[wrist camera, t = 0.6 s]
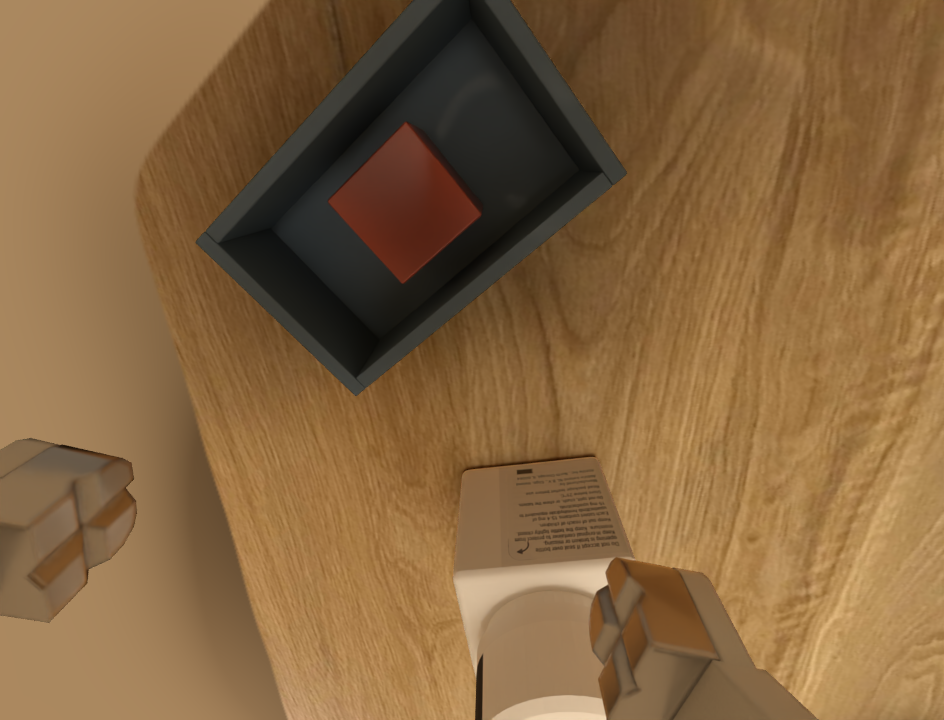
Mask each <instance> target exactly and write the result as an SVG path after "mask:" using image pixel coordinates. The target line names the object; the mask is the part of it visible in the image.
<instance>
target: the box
mask: <svg viewBox="0 0 944 720" xmlns="http://www.w3.org/2000/svg"><path fill="white" fill-rule="evenodd" d="M406 121H407V122H409V123H410V124H412V125H414V126H416V127H418V128H420V129H422V130H424V132H425V133H426V134H427V135H428V137H429V138H430V139H431V140H432V142H433V143H434V144H435V145H436V147H437V148H438V149H439V150H440V152H441V153H442V154H443V155H444V157H445V158H446V159H447V160H448V162H449V163H450V164H451V165H452V167H453V168H454V169H455V170H456V172H457V173H458V174H459V175H460V177H461V178H462V179H463V180H464V182H465V183H466V184H467V185H468V187H469V188H470V189H471V190H472V192H473V193H474V194H475V195H476V196H477V198H478V199H479V200H480V201H481V203H482V204H483V210H482V215H481V217H479V218H478V219H477V220H476V221H475V222H474V223H473V224H472V225H470V226H469V227H468V228H467V229H466V230H465V231H464V232H462V233H461V234H460V235H459V236H458V237H457V238H456V239H454V240H453V241H452V242H451V243H450V244H449V245H448V246H447V247H445V248H444V249H443V250H442V251H441V252H440V253H439V254H437V255H436V256H435V257H434V258H433V259H432V260H431V261H429V262H428V263H427V264H426V265H425V266H424V267H423V268H422V269H420V270H419V271H418V272H417V273H416V274H415V275H414V276H412V277H411V278H410V279H409V280H408V281H407V282H406V283H404V284H402V283H401V282H400V281H399V280H398V279H397V278H396V277H395V275H394V274H393V273H392V272H391V271H390V270H389V269H388V268H387V267H386V266H385V265H384V263H383V262H382V261H381V260H380V259H379V258H378V257H377V256H376V255H375V254H374V253H373V251H372V250H371V249H370V248H369V247H368V246H367V245H366V244H365V243H364V242H363V240H362V239H361V238H360V237H359V236H358V235H357V234H356V233H355V232H354V231H353V230H352V228H351V227H350V226H349V225H348V224H347V223H346V222H345V221H344V220H343V219H342V218H341V216H340V215H339V214H338V213H337V212H336V211H335V210H334V209H333V208H332V207H331V205H330V204H329V203H328V199H329V198H330V197H331V196H332V195H333V194H334V193H335V192H336V191H337V190H338V189H339V188H340V187H341V186H342V185H343V184H344V183H345V182H346V181H347V180H348V179H349V178H350V177H351V176H352V175H353V174H354V173H355V172H356V171H357V170H358V169H359V168H360V167H361V166H362V165H363V164H364V163H365V162H366V161H367V160H368V159H369V158H370V157H371V156H372V155H373V154H374V153H375V152H376V151H377V150H378V149H379V148H380V147H381V146H382V144H383V143H384V142H385V141H386V140H387V139H388V138H389V137H390V136H391V135H392V134H393V133H394V132H395V131H396V130H397V129H398V128H399V127H400V126H401V125H402V124H403V123H404V122H406ZM626 174H627V172H626V170H625V169H624V167H623V166H622V164H621V163H620V161H619V160H618V158H617V157H616V155H615V154H614V152H613V151H612V149H611V148H610V147H609V145H608V144H607V142H606V141H605V139H604V138H603V136H602V135H601V133H600V132H599V130H598V129H597V127H596V126H595V124H594V123H593V121H592V120H591V118H590V117H589V116H588V114H587V113H586V111H585V110H584V108H583V107H582V105H581V104H580V102H579V101H578V99H577V98H576V96H575V95H574V93H573V92H572V90H571V89H570V88H569V86H568V85H567V83H566V82H565V80H564V79H563V77H562V76H561V74H560V73H559V71H558V70H557V68H556V67H555V65H554V64H553V62H552V61H551V59H550V58H549V57H548V55H547V54H546V52H545V51H544V49H543V48H542V46H541V45H540V43H539V42H538V40H537V39H536V37H535V36H534V34H533V33H532V31H531V30H530V28H529V27H528V26H527V24H526V23H525V21H524V20H523V18H522V17H521V15H520V14H519V12H518V11H517V9H516V8H515V6H514V5H513V3H512V2H511V0H413V1H412V2H411V3H410V4H409V5H408V7H407V8H406V9H405V10H404V11H403V12H402V13H401V14H400V15H399V17H398V18H397V19H396V20H395V21H394V22H393V23H392V24H391V25H390V27H389V28H388V29H387V30H386V31H385V32H384V33H383V34H382V35H381V37H380V38H379V39H378V40H377V41H376V42H375V43H374V44H373V45H372V47H371V48H370V49H369V50H368V51H367V52H366V53H365V54H364V55H363V57H362V58H361V59H360V60H359V61H358V62H357V63H356V64H355V65H354V67H353V68H352V69H351V70H350V71H349V72H348V73H347V74H346V75H345V77H344V78H343V79H342V80H341V81H340V82H339V83H338V84H337V85H336V87H335V88H334V89H333V90H332V91H331V92H330V93H329V94H328V95H327V97H326V98H325V99H324V100H323V101H322V102H321V103H320V104H319V105H318V107H317V108H316V109H315V110H314V111H313V112H312V113H311V114H310V115H309V116H308V118H307V119H306V120H305V121H304V122H303V123H302V124H301V125H300V126H299V128H298V129H297V130H296V131H295V132H294V133H293V134H292V135H291V136H290V138H289V139H288V140H287V141H286V142H285V143H284V144H283V145H282V146H281V148H280V149H279V150H278V151H277V152H276V153H275V154H274V155H273V156H272V158H271V159H270V160H269V161H268V162H267V163H266V164H265V165H264V166H263V168H262V169H261V170H260V171H259V172H258V173H257V174H256V175H255V176H254V178H253V179H252V180H251V181H250V182H249V183H248V184H247V185H246V186H245V188H244V189H243V190H242V191H241V192H240V193H239V194H238V195H237V196H236V198H235V199H234V200H233V201H232V202H231V203H230V204H229V205H228V206H227V208H226V209H225V210H224V211H223V212H222V213H221V214H220V215H219V216H218V218H217V219H216V220H215V221H214V222H213V223H212V224H211V225H210V226H209V228H208V229H207V230H206V232H204V233H203V234H202V235H201V236H200V237H199V238H198V239H197V241H196V244H198V245H199V246H200V247H201V248H202V249H203V250H204V251H205V252H206V253H207V254H208V255H209V256H210V257H211V258H212V259H213V260H214V261H215V262H216V263H217V264H218V265H219V266H220V267H222V268H223V269H224V270H225V271H226V272H227V273H228V274H229V275H230V276H231V277H232V278H233V279H234V280H235V281H236V282H237V283H238V284H239V285H240V286H241V287H242V288H243V289H244V290H246V291H247V292H248V293H249V294H250V295H251V296H252V297H253V298H254V299H255V300H256V301H257V302H258V303H259V304H260V305H261V306H262V307H263V308H264V309H265V310H266V311H267V312H268V313H269V314H271V315H272V316H273V317H274V318H275V319H276V320H277V321H278V322H279V323H280V324H281V325H282V326H283V327H284V328H285V329H286V330H287V331H288V332H289V333H290V334H291V335H292V336H293V337H295V338H296V339H297V340H298V341H299V342H300V343H301V344H302V345H303V346H304V347H305V348H306V349H307V350H308V351H309V352H310V353H311V354H312V355H313V356H314V357H315V358H316V359H317V360H319V361H320V362H321V363H322V364H323V365H324V366H325V367H326V368H327V369H328V370H329V371H330V372H331V373H332V374H333V375H334V376H335V377H336V378H337V379H338V380H339V381H340V382H341V383H343V384H344V385H345V386H346V387H347V388H348V389H349V390H350V391H351V392H352V393H353V394H354V395H355V396H357V395H358V394H359V393H361V392H362V391H363V390H364V389H365V388H366V387H368V386H369V385H370V384H372V383H373V382H374V381H375V380H376V379H378V378H379V377H380V376H381V375H383V374H384V373H385V372H386V371H387V370H389V369H390V368H391V367H392V366H394V365H395V364H396V363H397V362H398V361H400V360H401V359H402V358H403V357H405V356H406V355H407V354H408V353H409V352H411V351H412V350H413V349H414V348H415V347H417V346H418V345H419V344H420V343H422V342H423V341H424V340H425V339H426V338H428V337H429V336H430V335H431V334H433V333H434V332H435V331H436V330H437V329H439V328H440V327H441V326H442V325H444V324H445V323H446V322H447V321H448V320H450V319H451V318H452V317H453V316H455V315H456V314H457V313H458V312H459V311H461V310H462V309H463V308H464V307H466V306H467V305H468V304H469V303H470V302H472V301H473V300H474V299H475V298H477V297H478V296H479V295H480V294H481V293H483V292H484V291H485V290H486V289H488V288H489V287H490V286H491V285H492V284H494V283H495V282H496V281H497V280H499V279H500V278H501V277H502V276H503V275H505V274H506V273H507V272H508V271H510V270H511V269H512V268H513V267H514V266H516V265H517V264H518V263H519V262H521V261H522V260H523V259H524V258H525V257H527V256H528V255H529V254H530V253H532V252H533V251H534V250H535V249H536V248H538V247H539V246H540V245H541V244H543V243H544V242H545V241H546V240H547V239H549V238H550V237H551V236H552V235H554V234H555V233H556V232H557V231H558V230H560V229H561V228H562V227H563V226H565V225H566V224H567V223H568V222H569V221H571V220H572V219H573V218H574V217H576V216H577V215H578V214H579V213H580V212H582V211H583V210H584V209H585V208H586V207H588V206H589V205H590V204H591V203H593V202H594V201H595V200H596V199H597V198H599V197H600V196H601V195H602V194H604V193H605V192H606V191H607V190H608V189H610V188H611V187H612V185H614V184H616V183H617V182H618V181H619V180H621V179H622V178H623V177H624V176H625V175H626Z"/></svg>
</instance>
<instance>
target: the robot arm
mask: <svg viewBox="0 0 944 720" xmlns="http://www.w3.org/2000/svg"><path fill="white" fill-rule="evenodd" d="M133 480H134V476H133V469H132V463H131V462H129V461H127V460H125V459H123V458H119V457H115V456H110V455H106V454H102V453H97V452H93V451H88V450H84V449H79V448H75V447H71V446H66V445H58V444H54V443H49V442H45V441H41V440H37V439H32V438H29V439H23V440H17V441H15V442H13V443H11V444H10V445H8V446H6V447H4V448H3V449H1V450H0V615H1V616H8V617H15V618H21V619H28V620H34V621H41V622H48V623H49V622H50V621H51V620H52V619H53V618H54V617H55V616H56V615H57V614H58V613H59V612H60V611H61V610H62V609H63V608H64V607H65V606H66V605H67V604H68V603H69V602H70V601H71V600H72V599H73V598H74V597H75V596H76V594H77V593H78V592H79V591H80V590H81V589H82V588H83V587H84V586H85V585H86V584H87V580H88V571H89V569H91V568H92V567H95V566H97V565H99V564H102V563H104V562H106V561H108V560H110V559H111V558H112V557H113V556H114V555H115V554H116V553H117V552H118V550H119V549H120V548H121V547H122V546H123V545H124V544H125V542H126V540H127V538H128V536H129V534H130V533H131V531H132V529H133V527H134V524H135V519H136V514H137V508H136V500H135V499H134V498H133V497H132V495H131V494H130V493H129V492H128V491H127V489H126V487H127V486H128V485H129V484H130V483H131V482H132V481H133ZM605 574H606V578H607V582H608V585H606V586H605V587H603V588H601V589H599V590H598V591H597V592H596V594H595V596H594V599H593V601H592V604H591V608H590V616H589V636H590V642H591V647H592V651H593V653H594V654H595V655H596V656H597V658H598V659H599V660H600V662H601V663H602V664H603V665H604V668H603V670H602V672H601V674H600V676H599V678H598V681H599V686H600V691H601V696H602V700H603V705H604V710H605V715H606V719H607V720H818V719H817V718H816V717H815V716H814V715H813V714H812V713H811V712H810V711H809V710H808V709H806V708H805V707H804V706H803V705H802V704H801V703H800V702H799V701H798V700H797V699H796V698H795V697H794V696H793V695H792V694H790V693H789V692H788V691H787V690H786V689H785V688H784V687H783V686H782V685H781V684H780V683H779V682H778V681H777V680H776V679H775V678H773V677H772V676H771V675H770V674H769V673H768V672H767V671H766V670H761V669H757V668H756V667H755V665H754V663H753V661H752V659H751V657H750V656H749V654H748V652H747V650H746V648H745V646H744V644H743V642H742V640H741V638H740V636H739V635H738V633H737V631H736V629H735V627H734V625H733V623H732V621H731V619H730V617H729V616H728V614H727V612H726V610H725V608H724V606H723V604H722V602H721V600H720V598H719V597H718V595H717V593H716V591H715V589H714V587H713V585H712V583H711V581H710V580H709V579H708V578H707V577H706V576H705V575H704V574H703V573H700V572H695V571H689V570H684V569H678V568H670V567H666V566H661V565H656V564H650V563H645V562H640V561H635V560H629V559H624V558H619V557H615V558H614V559H613V560H612V561H611V562H610V564H609V566H608V568H607V570H606V572H605Z"/></svg>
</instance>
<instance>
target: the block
mask: <svg viewBox="0 0 944 720" xmlns="http://www.w3.org/2000/svg"><path fill="white" fill-rule="evenodd" d="M328 203H329V204H330V205H331V207H332V208H333V209H334V210H335V211H336V212H337V213H338V214H339V215H340V216H341V218H342V219H343V220H344V221H345V222H346V223H347V224H348V225H349V226H350V227H351V228H352V230H353V231H354V232H355V233H356V234H357V235H358V236H359V237H360V238H361V239H362V240H363V242H364V243H365V244H366V245H367V246H368V247H369V248H370V249H371V250H372V251H373V253H374V254H375V255H376V256H377V257H378V258H379V259H380V260H381V261H382V262H383V263H384V265H385V266H386V267H387V268H388V269H389V270H390V271H391V272H392V273H393V274H394V275H395V277H396V278H397V279H398V280H399V281H400V282H401V283H402V284H404V283H406V282H407V281H408V280H409V279H410V278H411V277H412V276H414V275H415V274H416V273H417V272H418V271H419V270H420V269H422V268H423V267H424V266H425V265H426V264H427V263H428V262H429V261H431V260H432V259H433V258H434V257H435V256H436V255H437V254H439V253H440V252H441V251H442V250H443V249H444V248H445V247H447V246H448V245H449V244H450V243H451V242H452V241H453V240H454V239H456V238H457V237H458V236H459V235H460V234H461V233H462V232H464V231H465V230H466V229H467V228H468V227H469V226H470V225H472V224H473V223H474V222H475V221H476V220H477V219H478V218H479V217H481V215H482V210H483V204H482V203H481V201H480V200H479V199H478V198H477V196H476V195H475V194H474V193H473V192H472V190H471V189H470V188H469V187H468V185H467V184H466V183H465V182H464V180H463V179H462V178H461V177H460V175H459V174H458V173H457V172H456V170H455V169H454V168H453V167H452V165H451V164H450V163H449V162H448V160H447V159H446V158H445V157H444V155H443V154H442V153H441V152H440V150H439V149H438V148H437V147H436V145H435V144H434V143H433V142H432V140H431V139H430V138H429V137H428V135H427V134H426V133H425V132H424V130H422V129H420V128H418V127H416V126H414V125H412V124H410V123H409V122H407V121H406V122H404V123H403V124H402V125H401V126H400V127H399V128H398V129H397V130H396V131H395V132H394V133H393V134H392V135H391V136H390V137H389V138H388V139H387V140H386V141H385V142H384V143H383V144H382V146H381V147H380V148H379V149H378V150H377V151H376V152H375V153H374V154H373V155H372V156H371V157H370V158H369V159H368V160H367V161H366V162H365V163H364V164H363V165H362V166H361V167H360V168H359V169H358V170H357V171H356V172H355V173H354V174H353V175H352V176H351V177H350V178H349V179H348V180H347V181H346V182H345V183H344V184H343V185H342V186H341V187H340V188H339V189H338V190H337V191H336V192H335V193H334V194H333V195H332V196H331V197H330V198H329V199H328Z"/></svg>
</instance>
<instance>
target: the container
mask: <svg viewBox="0 0 944 720" xmlns="http://www.w3.org/2000/svg"><path fill="white" fill-rule="evenodd" d="M615 557H619V558H624V559H629V560H635V558H634V555H633V552H632V549H631V547H630V544H629V541H628V539H627V536H626V533H625V530H624V528H623V525H622V522H621V519H620V517H619V514H618V511H617V509H616V506H615V503H614V500H613V498H612V495H611V492H610V489H609V487H608V484H607V481H606V479H605V476H604V473H603V470H602V468H601V465H600V462H599V460H598V459H597V458H595V457H584V458H575V459H565V460H556V461H547V462H537V463H528V464H519V465H509V466H500V467H490V468H481V469H472V470H466V471H465V472H464V473H463V474H462V482H461V493H460V504H459V516H458V527H457V538H456V549H455V560H454V571H453V582H454V586H455V590H456V595H457V599H458V603H459V608H460V612H461V616H462V621H463V625H464V629H465V633H466V638H467V642H468V646H469V651H470V655H471V659H472V664H473V668H474V672H475V677H476V711H475V720H607V719H606V715H605V710H604V705H603V700H602V696H601V691H600V686H599V681H598V678H599V676H600V674H601V672H602V670H603V668H604V665H603V664H602V663H601V662H600V660H599V659H598V658H597V656H596V655H595V654H594V653H593V651H592V647H591V642H590V636H589V616H590V608H591V604H592V601H593V599H594V596H595V594H596V592H597V591H598V590H599V589H601V588H603V587H605V586H606V585H608V582H607V578H606V574H605V572H606V570H607V568H608V566H609V564H610V562H611V561H612V560H613V559H614V558H615ZM635 561H636V560H635Z"/></svg>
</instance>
